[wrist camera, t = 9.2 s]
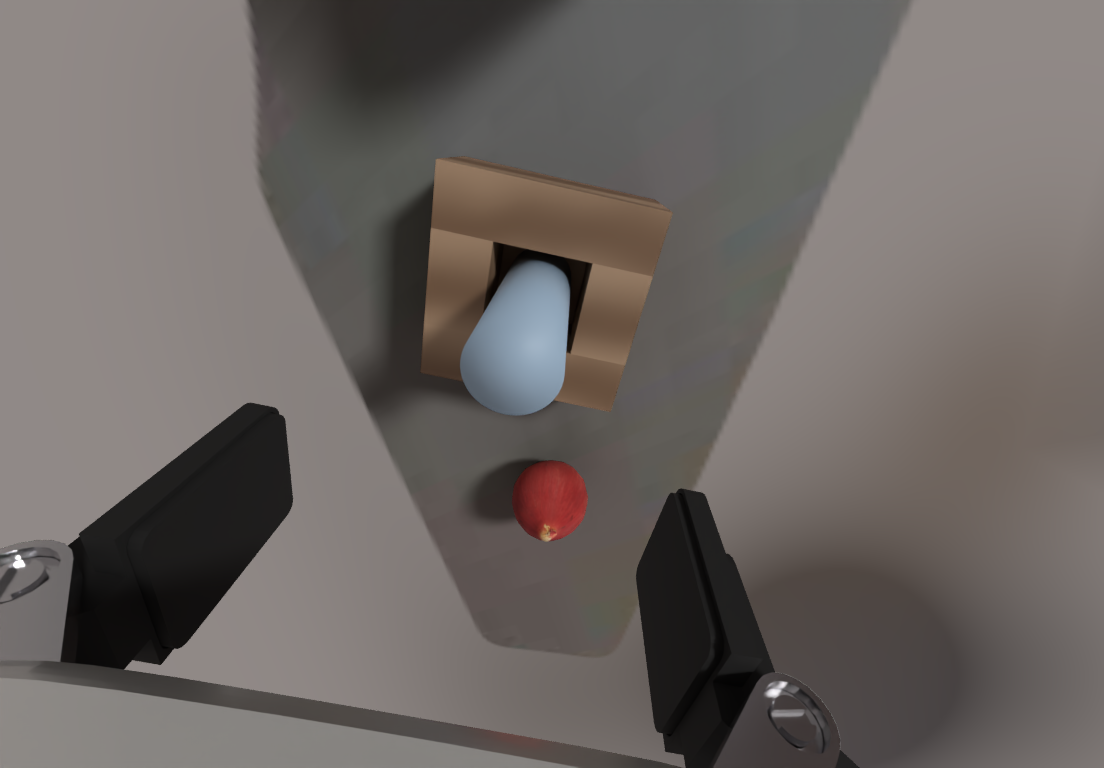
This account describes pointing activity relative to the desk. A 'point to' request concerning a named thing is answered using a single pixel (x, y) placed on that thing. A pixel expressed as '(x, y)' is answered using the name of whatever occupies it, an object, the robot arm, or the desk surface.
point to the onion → (549, 500)
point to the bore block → (550, 227)
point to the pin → (521, 338)
